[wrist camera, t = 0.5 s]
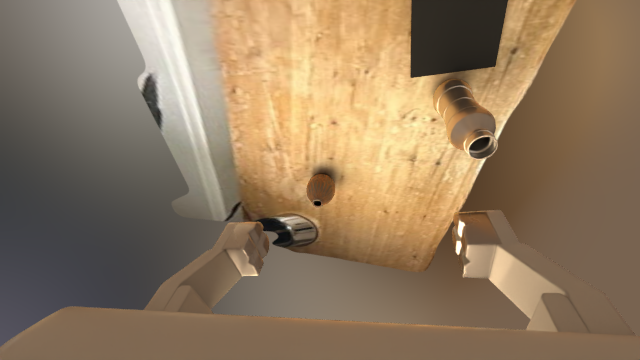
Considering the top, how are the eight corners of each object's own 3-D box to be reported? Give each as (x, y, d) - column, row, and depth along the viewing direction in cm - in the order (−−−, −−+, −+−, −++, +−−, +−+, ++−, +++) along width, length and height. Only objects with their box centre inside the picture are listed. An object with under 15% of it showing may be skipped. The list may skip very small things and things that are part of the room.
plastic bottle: (474, 77, 49) (521, 127, 33) (459, 112, 53) (495, 171, 37) (437, 73, 49) (467, 121, 33) (426, 108, 53) (448, 165, 38)
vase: (334, 193, 70) (330, 216, 64) (308, 188, 71) (301, 211, 64) (338, 172, 66) (334, 195, 59) (310, 167, 66) (303, 189, 60)
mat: (412, -78, 38) (413, -79, 37) (527, -109, 34) (528, -109, 34) (410, 77, 50) (410, 77, 50) (494, 65, 47) (495, 66, 47)
